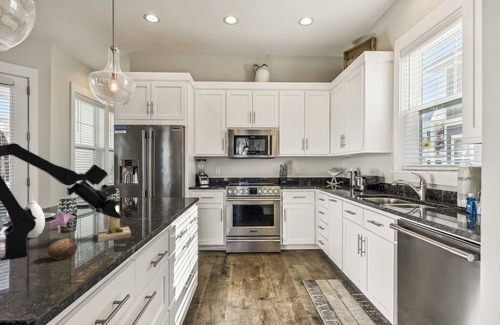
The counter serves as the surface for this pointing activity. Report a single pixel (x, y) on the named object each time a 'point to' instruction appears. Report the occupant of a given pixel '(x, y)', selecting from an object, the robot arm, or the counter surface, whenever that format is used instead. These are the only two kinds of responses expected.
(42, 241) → the counter surface
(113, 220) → the brass cylinder peg
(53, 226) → the lily
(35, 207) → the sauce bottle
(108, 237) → the jig
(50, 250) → the potato
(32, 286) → the counter surface
